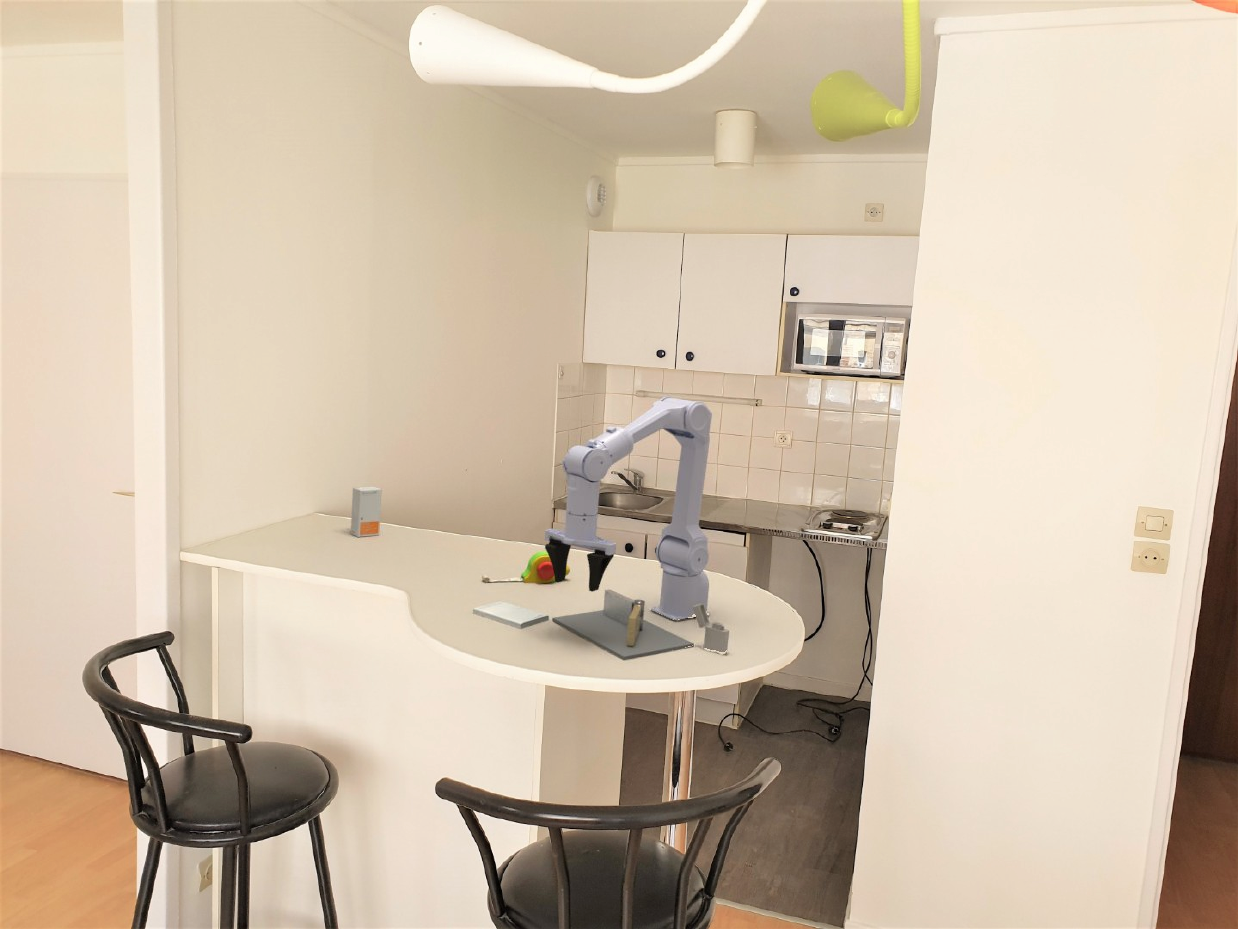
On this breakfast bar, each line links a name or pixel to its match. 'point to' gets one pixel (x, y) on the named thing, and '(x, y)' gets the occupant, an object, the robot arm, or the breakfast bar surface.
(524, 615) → the hard drive
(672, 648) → the hinge base
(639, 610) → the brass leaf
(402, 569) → the breakfast bar surface
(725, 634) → the lighter
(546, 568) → the toy measuring tape
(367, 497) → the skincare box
